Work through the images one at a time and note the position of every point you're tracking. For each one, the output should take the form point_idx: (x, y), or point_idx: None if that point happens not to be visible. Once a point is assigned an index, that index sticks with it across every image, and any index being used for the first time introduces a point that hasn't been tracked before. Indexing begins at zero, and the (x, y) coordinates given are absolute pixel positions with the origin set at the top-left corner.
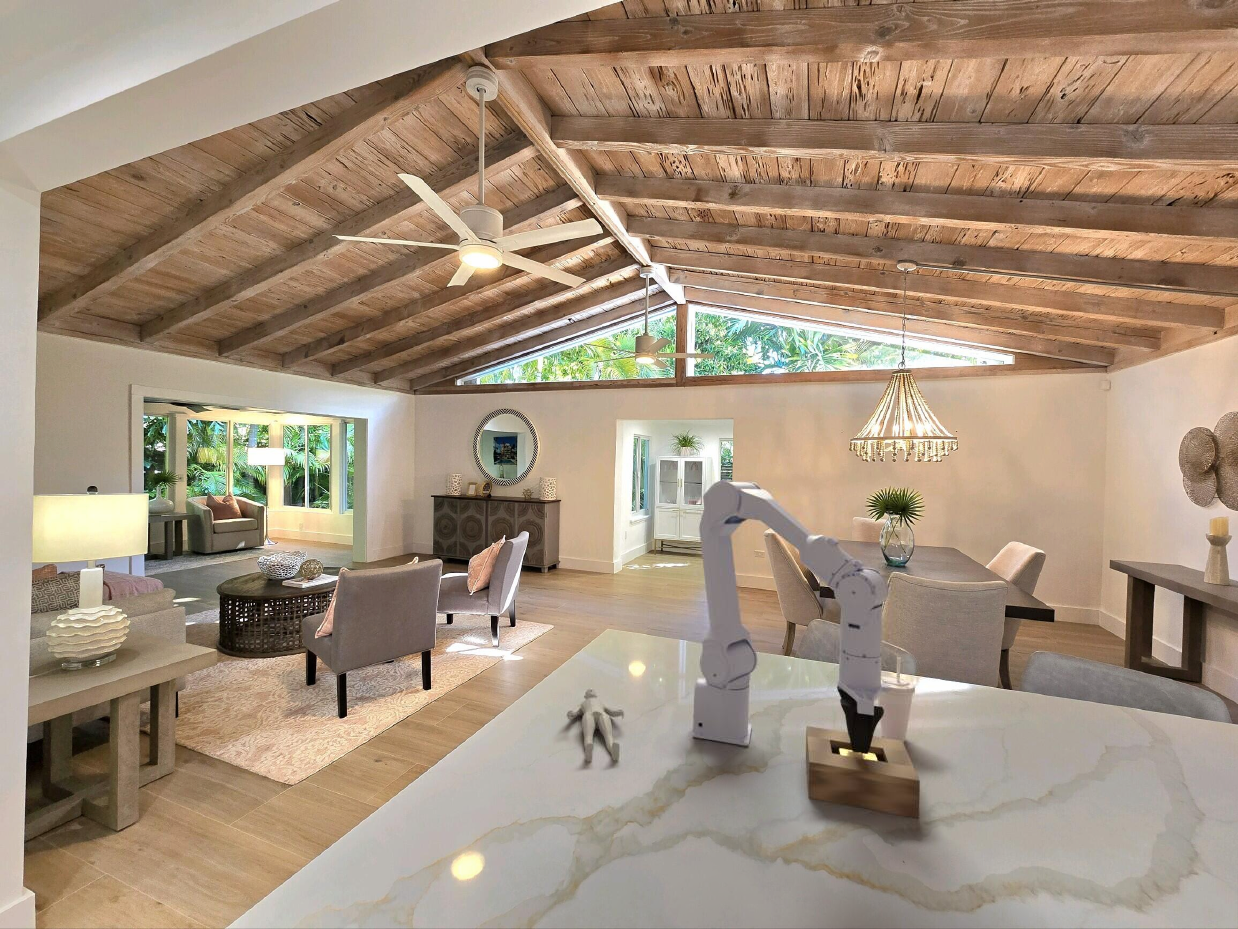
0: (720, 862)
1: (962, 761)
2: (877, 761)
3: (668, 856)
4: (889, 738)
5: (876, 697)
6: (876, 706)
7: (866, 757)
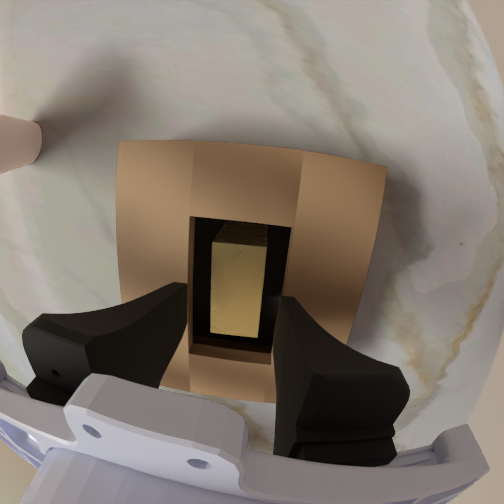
0: (430, 418)
1: (90, 28)
2: (293, 259)
3: (414, 443)
4: (36, 152)
5: (409, 475)
6: (324, 407)
7: (244, 273)
